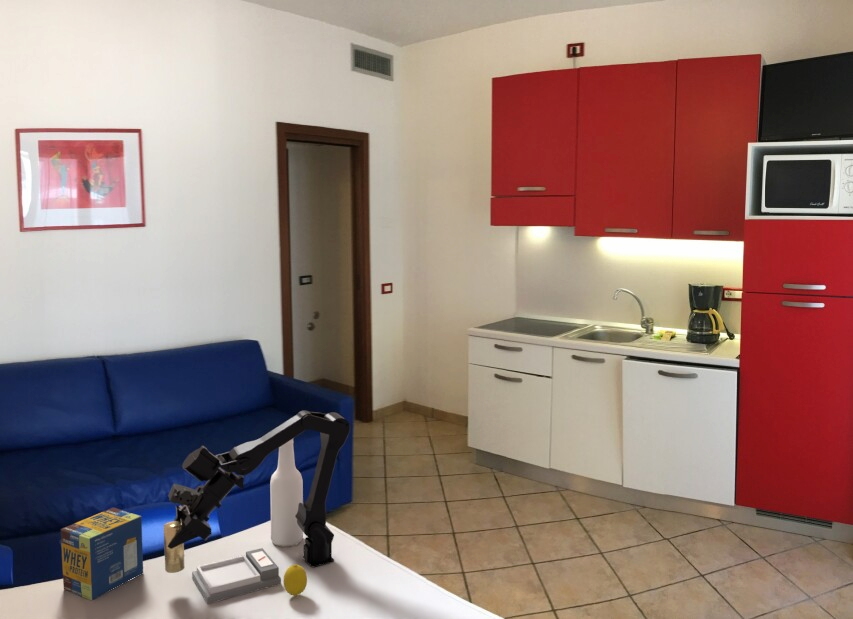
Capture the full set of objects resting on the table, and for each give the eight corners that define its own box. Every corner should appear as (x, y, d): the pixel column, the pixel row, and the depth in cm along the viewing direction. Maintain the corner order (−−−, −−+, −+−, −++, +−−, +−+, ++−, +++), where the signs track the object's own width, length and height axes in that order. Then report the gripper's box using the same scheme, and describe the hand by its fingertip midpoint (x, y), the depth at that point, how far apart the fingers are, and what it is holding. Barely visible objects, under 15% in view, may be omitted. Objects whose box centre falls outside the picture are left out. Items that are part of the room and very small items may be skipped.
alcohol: (307, 543, 200) (307, 438, 196) (277, 550, 195) (276, 443, 192) (295, 531, 207) (295, 430, 204) (266, 538, 203) (265, 434, 199)
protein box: (62, 590, 173) (59, 528, 171) (116, 563, 187) (114, 506, 185) (91, 601, 168) (88, 538, 166) (144, 573, 182) (142, 514, 180)
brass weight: (182, 562, 176) (180, 519, 175) (186, 569, 173) (185, 526, 171) (163, 566, 174) (161, 523, 173) (167, 574, 170) (165, 530, 169)
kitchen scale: (192, 577, 180) (191, 561, 179) (262, 560, 189) (261, 545, 189) (207, 603, 168) (207, 586, 168) (281, 584, 178) (280, 567, 177)
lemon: (302, 603, 169) (301, 571, 168) (279, 600, 170) (279, 568, 169) (310, 591, 174) (310, 560, 173) (288, 588, 176) (288, 557, 175)
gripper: (182, 460, 180) (137, 510, 177) (195, 486, 164) (145, 541, 160) (215, 485, 185) (172, 534, 181) (231, 513, 168) (183, 567, 165)
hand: (167, 543), depth 172 cm, fingers closed on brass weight, 4 cm apart
